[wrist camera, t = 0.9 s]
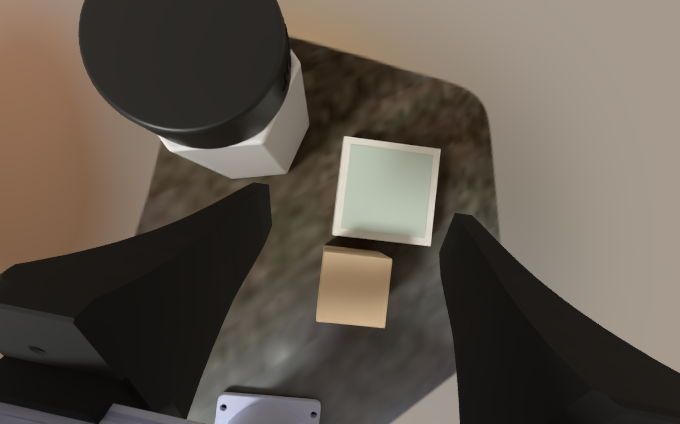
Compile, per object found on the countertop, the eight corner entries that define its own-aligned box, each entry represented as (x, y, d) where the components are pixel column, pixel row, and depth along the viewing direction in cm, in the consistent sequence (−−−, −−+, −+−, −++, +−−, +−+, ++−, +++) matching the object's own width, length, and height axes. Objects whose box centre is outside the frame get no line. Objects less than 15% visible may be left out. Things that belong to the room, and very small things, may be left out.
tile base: (420, 243, 24) (430, 246, 21) (331, 233, 23) (332, 235, 21) (430, 155, 24) (441, 148, 22) (342, 143, 24) (344, 135, 21)
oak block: (371, 305, 23) (384, 328, 18) (317, 299, 23) (315, 321, 18) (377, 250, 24) (392, 259, 19) (324, 244, 23) (324, 251, 18)
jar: (327, 145, 24) (331, 67, 12) (246, 202, 23) (162, 183, 11) (264, 57, 23) (202, -113, 11) (181, 112, 23) (25, -5, 11)
